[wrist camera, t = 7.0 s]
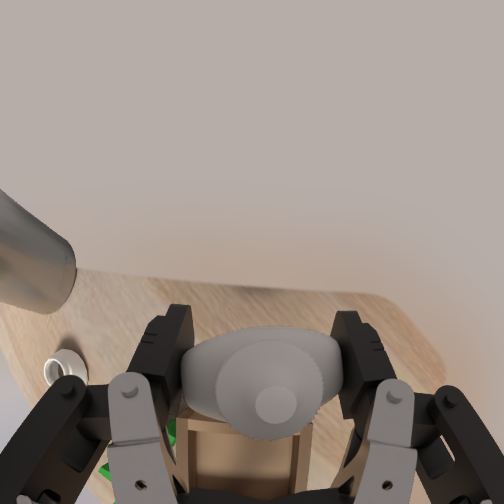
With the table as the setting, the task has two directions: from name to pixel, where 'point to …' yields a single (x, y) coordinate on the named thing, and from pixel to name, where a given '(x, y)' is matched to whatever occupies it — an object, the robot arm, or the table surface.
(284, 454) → the box
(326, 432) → the table surface
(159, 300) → the table surface
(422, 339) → the table surface
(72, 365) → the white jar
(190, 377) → the eye dropper bottle
